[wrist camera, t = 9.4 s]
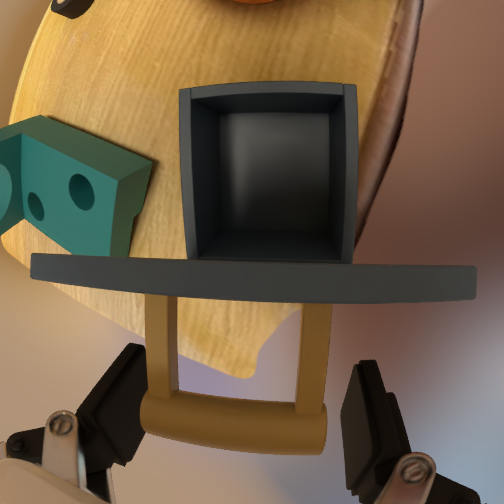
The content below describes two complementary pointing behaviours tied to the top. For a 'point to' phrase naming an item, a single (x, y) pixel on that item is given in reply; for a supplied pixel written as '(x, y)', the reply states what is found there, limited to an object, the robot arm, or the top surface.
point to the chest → (269, 171)
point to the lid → (257, 290)
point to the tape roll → (70, 7)
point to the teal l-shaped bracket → (70, 186)
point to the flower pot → (254, 1)
